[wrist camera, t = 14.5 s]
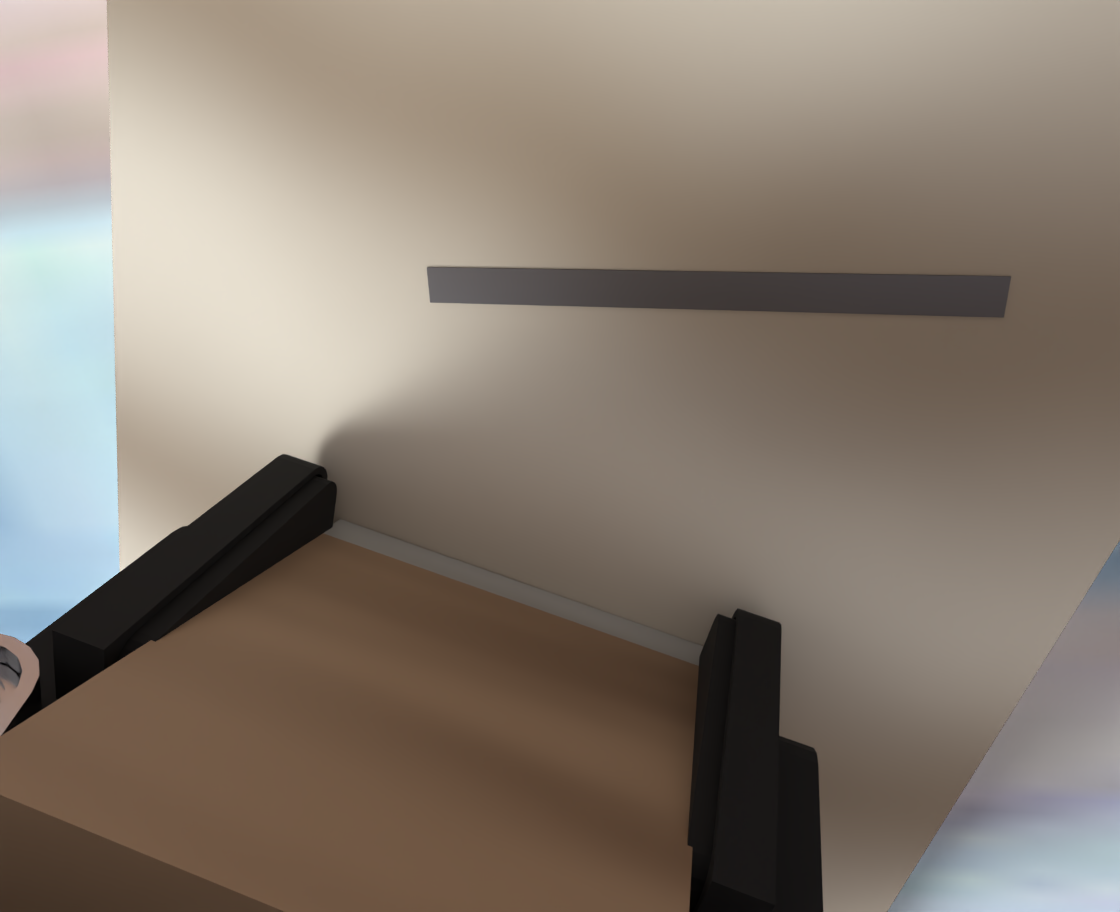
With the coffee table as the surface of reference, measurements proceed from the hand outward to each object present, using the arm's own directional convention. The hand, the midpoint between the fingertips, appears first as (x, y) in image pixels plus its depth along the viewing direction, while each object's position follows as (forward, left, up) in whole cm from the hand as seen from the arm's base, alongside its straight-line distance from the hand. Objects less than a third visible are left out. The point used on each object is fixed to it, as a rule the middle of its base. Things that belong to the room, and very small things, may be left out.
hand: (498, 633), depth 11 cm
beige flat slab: (0, 0, -2) cm, 2 cm away
